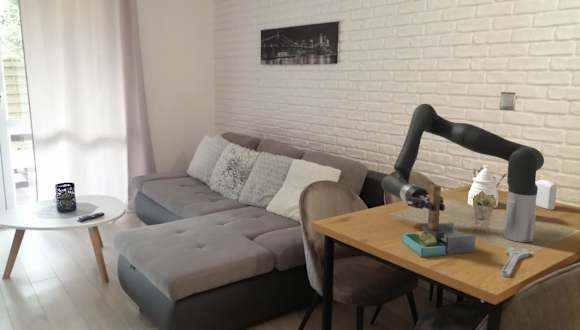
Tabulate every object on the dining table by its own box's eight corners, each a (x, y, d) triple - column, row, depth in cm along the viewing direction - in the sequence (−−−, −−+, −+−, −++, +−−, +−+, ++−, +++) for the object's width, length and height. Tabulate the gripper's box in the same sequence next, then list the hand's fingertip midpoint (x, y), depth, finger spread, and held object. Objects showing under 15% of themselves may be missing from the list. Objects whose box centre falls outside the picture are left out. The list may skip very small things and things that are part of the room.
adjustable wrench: (508, 280, 129) (509, 274, 129) (486, 273, 134) (486, 268, 133) (530, 254, 148) (531, 249, 148) (509, 249, 152) (510, 245, 152)
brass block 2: (429, 233, 151) (418, 237, 150) (435, 237, 147) (424, 241, 146) (431, 243, 152) (421, 247, 151) (437, 247, 148) (427, 252, 147)
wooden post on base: (430, 229, 156) (432, 182, 153) (444, 238, 148) (447, 188, 144) (422, 230, 156) (424, 183, 152) (435, 239, 147) (438, 189, 144)
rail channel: (450, 238, 162) (452, 222, 161) (474, 252, 148) (475, 235, 147) (425, 240, 160) (426, 224, 159) (447, 255, 146) (448, 237, 145)
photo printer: (530, 204, 207) (533, 178, 205) (538, 203, 208) (541, 177, 206) (547, 210, 197) (551, 183, 195) (556, 209, 198) (559, 182, 196)
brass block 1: (425, 231, 156) (414, 231, 155) (431, 235, 152) (420, 235, 151) (424, 242, 156) (414, 242, 156) (430, 246, 153) (419, 246, 152)
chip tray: (425, 240, 160) (425, 232, 159) (446, 255, 146) (446, 246, 146) (401, 241, 158) (402, 233, 157) (421, 257, 144) (421, 248, 144)
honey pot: (470, 199, 216) (473, 162, 212) (499, 202, 209) (502, 165, 206) (465, 205, 205) (468, 167, 201) (495, 209, 198) (499, 170, 195)
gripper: (397, 186, 161) (420, 198, 145) (431, 184, 164) (458, 196, 148) (396, 206, 163) (419, 220, 146) (430, 204, 166) (457, 217, 149)
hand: (439, 208), depth 147 cm, fingers closed on wooden post on base, 2 cm apart
